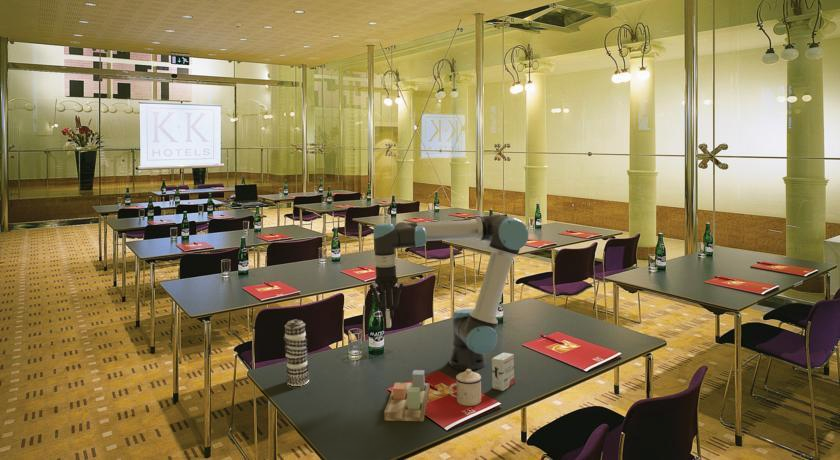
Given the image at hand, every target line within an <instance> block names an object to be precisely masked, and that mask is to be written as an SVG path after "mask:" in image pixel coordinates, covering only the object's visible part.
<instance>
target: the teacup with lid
mask: <svg viewBox="0 0 840 460" xmlns="http://www.w3.org/2000/svg"><path fill="white" fill-rule="evenodd" d="M455 380H456V382H454V383H451V384H450V385H449V388H448V392H449V394H450V395H451V396H452V397H453V398H456V401H457V403H458V404H460V405H462V406H465V407H467V406H468V407H471V406H477V405H479V404H480V403H481V402H482V380H483V379H482V376H481V374H479V373H478V372H474V371H473V370H471V369H466V370H464V371H463V372H460V373H458V374H456V377H455ZM454 387H456V394H453V392H452V389H453V388H454Z"/></svg>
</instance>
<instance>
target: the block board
mask: <svg viewBox="0 0 840 460" xmlns="http://www.w3.org/2000/svg"><path fill="white" fill-rule="evenodd" d="M395 384H406V400H393V389H392V390H391V392H390V395H389V399H388V401H387V404H386V405H385V409H384V412H383V413H384V415H383V416H384V421H387V422H388V421H393V422H394V421H396V422H398V421H400V422H424V420H425V415H426V410H427V405H428V401H429V395H430V392H431V391H430V390H431V389H430V382H425V388H424V391H420V400H421V405H420V409H419V410H408V406H407V390H408V387H413V382H394V384H393V386H394V385H395Z"/></svg>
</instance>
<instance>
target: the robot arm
mask: <svg viewBox="0 0 840 460" xmlns="http://www.w3.org/2000/svg"><path fill="white" fill-rule="evenodd" d="M469 239H475V240H476V241H487V242H489V244H488V245H489V246H488V248H489V250H490V251H491V253H490V257H489V260H488V264H487V266H486V271H485V274H484V276H483V280H482V284H481V285H480V286H481V287H480V290H479V292H478V293H479V294H478V296H477V300H476V303H475V306H474V308H465V309H464V308H463V309H457V310H455V311H453V312H452V319H451V320H452V341H453V342H452V348H451V351H450V355H449V359H448V360H449V365H450V367H452V368H454V369H456V370H461V371H466V369H471V371H473V370H475V371H476V370H479V369H482V368H483V367H485V366H486V364H487V363H486V362H487V361H486V356H485V354H488V353H489V352H491V351H493V350H494V348H495V347H496V345H497V343H498V333H497V331H496V330H497V326H498V324H499V321H498V318H496V316H497V314H498V313H497V312H498V309H499V306H500V303H501V298H502V297H503V293H504V289H505V286H506V282H507V278H508V276H509V272H510V269H511V266H512V263H513V259H514V258H516V257H518V256H519V253H520V250H521V249H522V248H523V247H525V246H526V244H527V242H528V240H529V229H528V227H527V225H526V223H524V222H523V221H522V220H520V219H518V218H517V217H513V216H507V215H504V214H495V215H489V216H487V215H486V216H477V217H476V218H475V219H468V220H467V219H466V220H465V219H463V220H445V221H423V222H397V223H396V224H395V225H394V224H393V223H390V222H389V223H387V222H386V223H385V222H384V223H377V224H375V225H374V226H373V245H374V246H373V248H374V263H375V264H374V265H375V268H374V269H375V280H374V281H373V282H371V283H370V284H369V286H368V287H369V289H370V290H371V291H372V294H373V297H374V301H375V304H376V308H377V309H378V310H381V311H382V318H383V320H385V323H386V329H390V328H392V320H393V319H394V317H395V316H394V315H395V313H394V310H396V309H398V307H399V302H400V301H399V300H400V297H401V291H402V288H403V287H404V284H405V283H404V282H401V281H400V280H399V279H398V277H397V267H396V250H395V249H405V248H406V249H407V248H408V249H409V248H418V247H424V246H426V244H427V242H431V241H433V242H434V241H450V240H451V241H453V240H469ZM395 286H396V287H397V291H396V296H395V300H394V299H393V297H394V296H393V289H394V288H395ZM377 287H378V288H379V289H380V290H381V300H380V296H379V293H378V289H377ZM387 292H388V306H389V307H388V308H387V295H386V293H387Z"/></svg>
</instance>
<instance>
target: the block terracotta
mask: <svg viewBox="0 0 840 460" xmlns="http://www.w3.org/2000/svg"><path fill="white" fill-rule="evenodd" d="M394 384H395V383H394ZM394 384H393V387H392V390H393V400H406V384H395V385H394Z"/></svg>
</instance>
